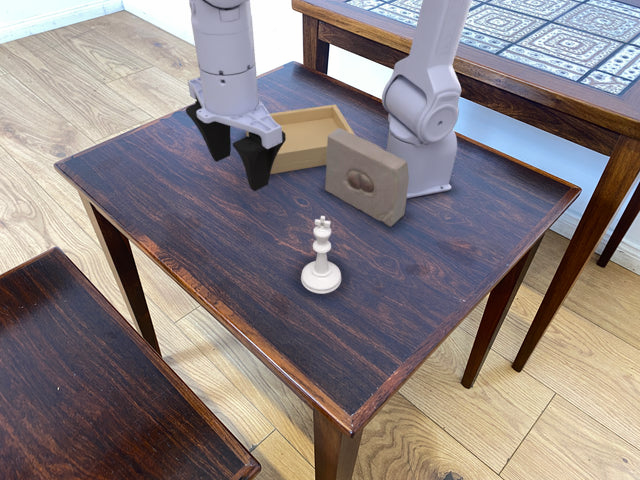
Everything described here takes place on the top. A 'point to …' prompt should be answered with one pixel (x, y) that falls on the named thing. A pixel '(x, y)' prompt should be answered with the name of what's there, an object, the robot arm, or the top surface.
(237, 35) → the robot arm
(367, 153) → the fossil
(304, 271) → the chess piece
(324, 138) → the wooden tray
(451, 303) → the top surface
